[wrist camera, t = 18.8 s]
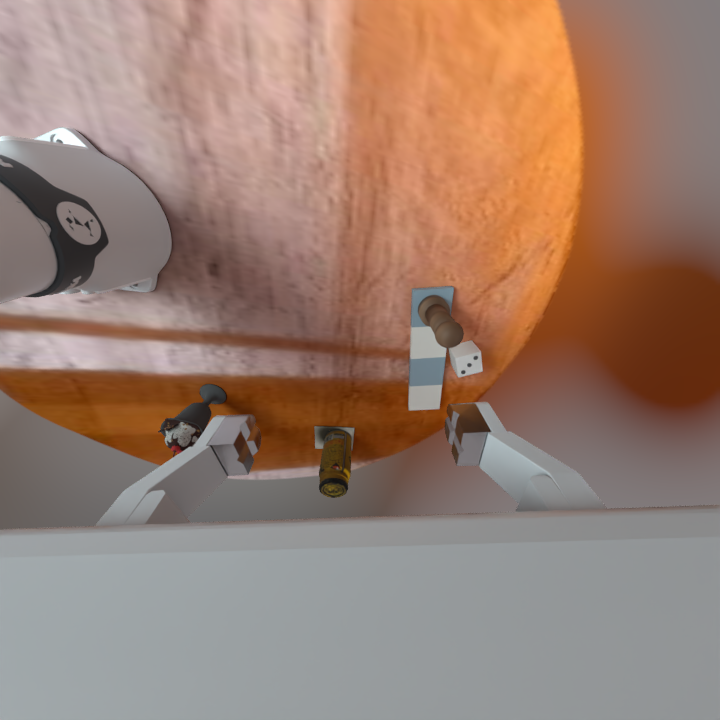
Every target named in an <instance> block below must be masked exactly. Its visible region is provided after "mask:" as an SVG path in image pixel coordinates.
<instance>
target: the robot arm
mask: <svg viewBox="0 0 720 720" xmlns="http://www.w3.org/2000/svg"><path fill="white" fill-rule="evenodd" d="M0 140H1V141H0V304H1V303H5V302H8V301H11V300H14V299H18V298H21V297H41V296H45V295H53V294H58V293H61V294H72V293H77V292H80V291H81V292H82V293H83V294H94V293H98V294H101V293H106V292H110V291H113V290H117V289H119V290H128V291H136V292H150V291H153V290H154V289H155V287H156V284H157V276H158V273H159V272H160V270H161V269H162V268H163V267H164V266H165V264H166V263H167V261H168V259H169V256H170V253H171V246H172V240H171V232H170V228H169V224H168V221H167V219H166V216H165V214H164V212H163V210H162V208H161V206H160V204H159V203H158V201H157V200H156V198H155V197H154V195H153V194H152V193H151V191H150V190H149V189H148V188H147V187H146V185H145V184H144V183H143V182H142V181H141V180H140V179H139V178H138V177H137V176H135V175H134V174H133V173H132V172H131V171H129V170H128V169H127V168H125V167H124V166H122V165H120V164H119V163H117V162H115V161H113V160H112V159H110V158H108V157H106V156H105V155H103V154H102V153H100V152H99V151H98V150H97V149H96V148H95V147H94V146H93V145H92V144H91V143H90V142H89V141H88V140H87V139H86V138H85V137H83V136H82V135H81V134H80V133H79V132H77V131H76V130H74V129H72V128H65V127H59V128H57V129H54V130H52V131H50V132H48V133H45V134H43V135H41V136H39V137H36V138H34V139H28V138H21V137H14V136H1V137H0ZM63 143H64V144H63ZM137 283H138V285H137ZM447 414H448V416H449V417H448V418H447V419H445V433H446V437H447V440H448V442H449V443H450V444H451V445H452V454H453V456H454V459H455V462H456V465H457V466H473V465H474V466H475V465H479V466H480V468H481V469H482V470H483V471H484V472H485V473H487V474H488V475H489V476H490V477H491V478H492V479H493V480H494V481H495V482H496V483H497V484H498V485H499V486H500V487H501V488H502V489H504V490H505V491H506V492H507V493H508V494H509V495H510V496H511V497H512V498H513V499H514V500H515V501H516V502H517V503H519V505H518V507H517V509H516V511H515V512H495V513H468V514H467V513H466V514H437V515H409V516H379V517H352V518H351V517H350V518H324V519H294V520H293V519H291V520H263V521H262V520H261V521H232V522H202V523H190V521H189V520H188V519H187V518H188V517H189V516H190V514H192V513H193V512H194V511H195V510H196V509H197V507H198V506H200V504H201V503H202V502H204V500H205V499H206V498H207V497H208V496H209V495H210V494H211V493H212V492H213V491H214V490H215V489H216V488H217V487H218V486H219V485H220V484H221V483H222V482H223V481H224V480H225V479H226V478H227V476H235V475H248V474H249V472H250V469H251V467H252V464H253V462H254V458H253V455H254V454H255V453H256V452H258V450H259V447H260V444H261V433H260V430H259V428H257V427H256V426H254V424H255V422H256V420H255V418H254V416H253V415H228V416H216V417H214V418H213V419H212V420H211V422H210V423H209V425H208V426H207V427H206V429H205V430H204V432H203V433H202V435H201V436H200V438H199V439H198V440H197V442H196V443H195V445H194V446H193V447H188V448H187V449H185V450H184V451H182V452H181V453H179V454H178V455H176V456H175V457H174V458H172V459H171V460H169V461H168V462H166V463H165V464H163V465H162V466H160V467H159V468H157V469H156V470H154V471H153V472H151V473H150V474H148V475H147V476H145V477H144V478H142V479H141V480H139V481H138V482H136V483H135V484H133V485H132V486H130V487H129V488H127V489H126V490H124V491H123V493H122V494H121V495H120V496H119V497H118V499H117V500H116V501H115V502H114V503H113V505H112V506H111V507H110V509H109V510H108V511H107V512H106V513H105V514H104V515H103V517H102V518H101V519H100V520H99V522H98V523H97V524H96V525H95V526H88V527H87V526H85V527H57V528H26V529H0V720H720V505H698V506H670V507H642V508H641V507H640V508H611V509H607V508H606V506H605V505H604V504H603V503H602V501H601V500H600V499H599V498H598V497H597V495H596V494H595V493H594V491H593V490H592V489H591V488H590V486H589V485H588V484H587V483H586V481H585V480H584V479H583V478H582V477H581V475H580V474H579V473H578V472H576V471H575V470H573V469H572V468H570V467H568V466H567V465H565V464H563V463H562V462H560V461H558V460H557V459H555V458H553V457H552V456H550V455H549V454H547V453H545V452H544V451H542V450H540V449H539V448H537V447H535V446H534V445H532V444H530V443H529V442H527V441H525V440H524V439H522V438H520V437H519V436H517V435H516V434H514V433H512V432H507V431H506V429H505V428H504V426H503V425H502V423H501V422H500V420H499V419H498V417H497V415H496V414H495V412H494V411H493V409H492V408H491V406H490V405H489V403H487V402H474V403H460V404H448V406H447Z"/></svg>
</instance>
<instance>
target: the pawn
mask: <svg viewBox="0 0 720 720" xmlns="http://www.w3.org/2000/svg"><path fill="white" fill-rule="evenodd" d="M418 314H419V317H420V319H421V321H422V322H423V323H424V324H425V325H426V326H429V327H431V329H432V331H433V332H434V334H435V339H436V341H437V343H438V344H439V345H440V346H442V347H445V348H453V347H455V346H457V345H459V344H460V342H461V341H462V339H463V335H464V333H463V329H462V327H461V326H460V325H459V324H458V323H457V322H455V321H454V319H453V318H452V317H451V316H450V307H449V305H448V303H447V302H446V301H445V300H444V299H443V298H442V297H441V296H438V295H430V296H427V297H425V298H424V299H423V300H422V301H421V302H420V304H419V306H418Z"/></svg>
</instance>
